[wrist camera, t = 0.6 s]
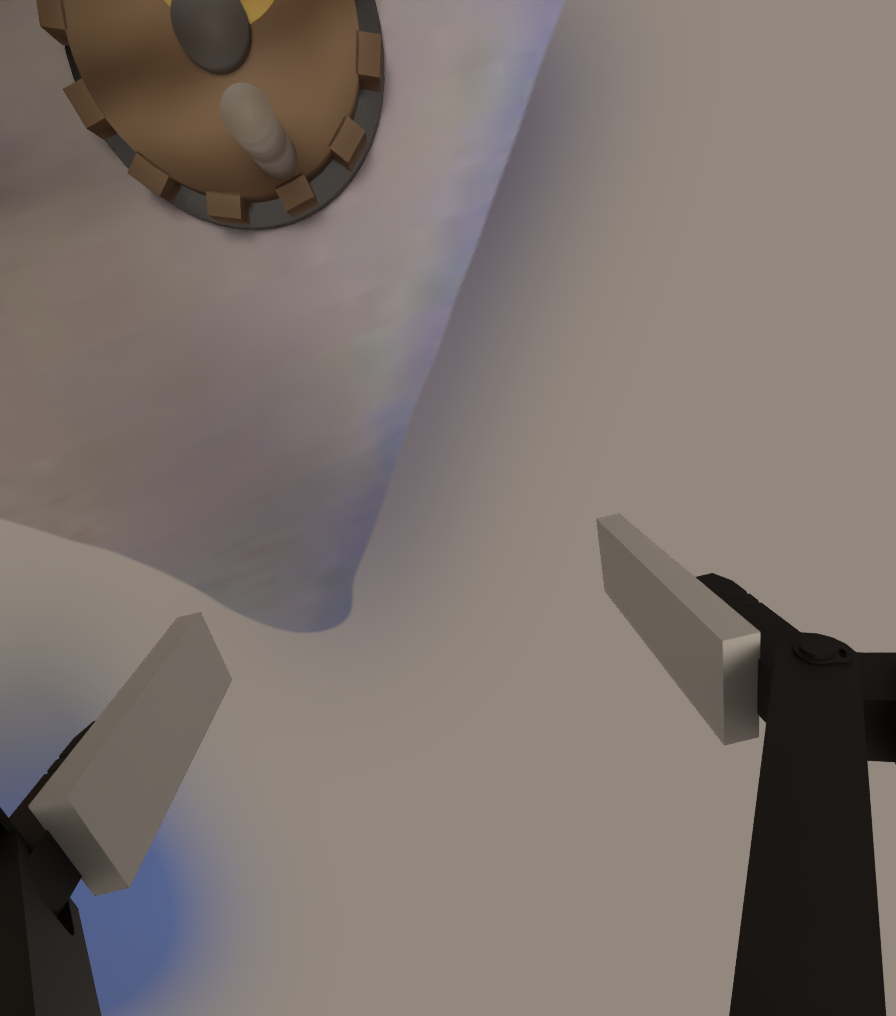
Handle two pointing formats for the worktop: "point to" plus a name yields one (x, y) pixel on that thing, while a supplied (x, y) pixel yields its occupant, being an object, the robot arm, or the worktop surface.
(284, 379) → the worktop surface
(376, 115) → the base plate
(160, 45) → the sprocket
